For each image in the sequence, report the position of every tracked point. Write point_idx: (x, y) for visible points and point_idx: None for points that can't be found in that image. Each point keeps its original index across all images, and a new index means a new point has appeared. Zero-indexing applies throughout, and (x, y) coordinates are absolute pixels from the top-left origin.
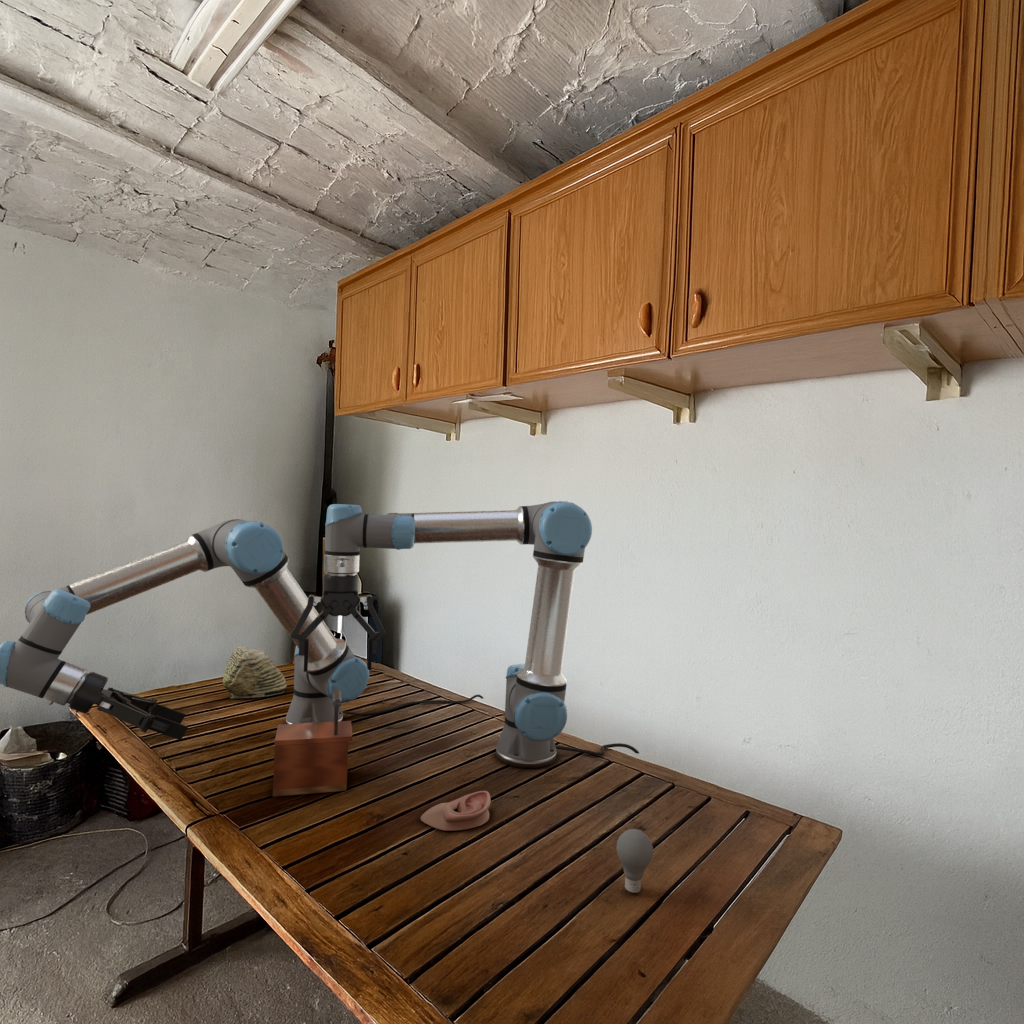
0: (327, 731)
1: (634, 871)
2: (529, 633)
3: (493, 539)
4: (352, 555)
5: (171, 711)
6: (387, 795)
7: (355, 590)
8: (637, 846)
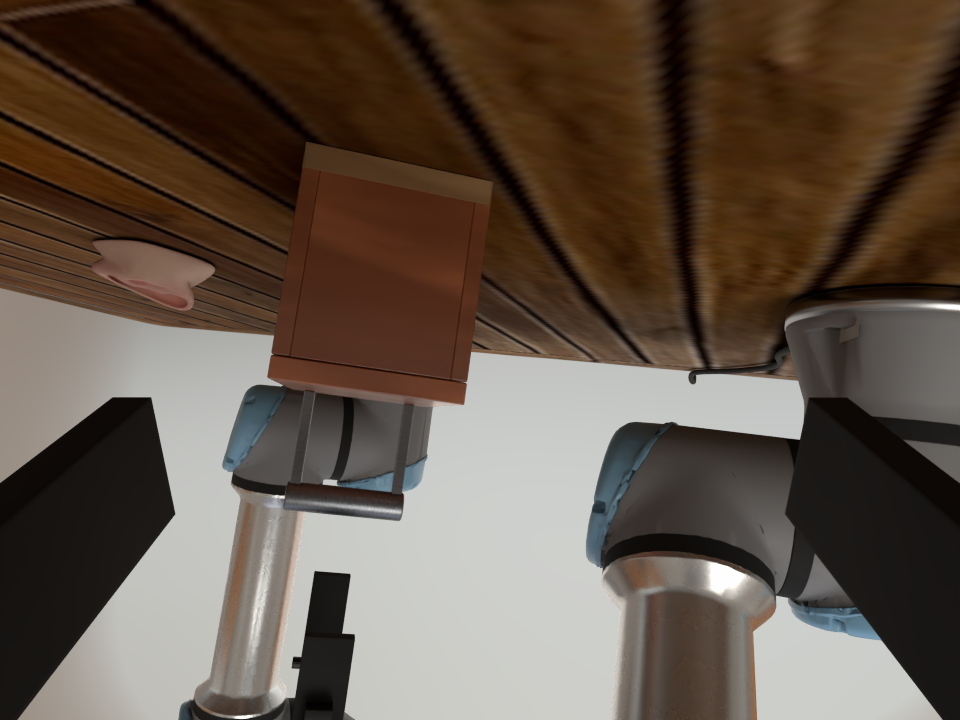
0: (342, 394)
1: None
2: (264, 571)
3: None
4: None
5: (871, 601)
6: (274, 247)
7: None
8: None
